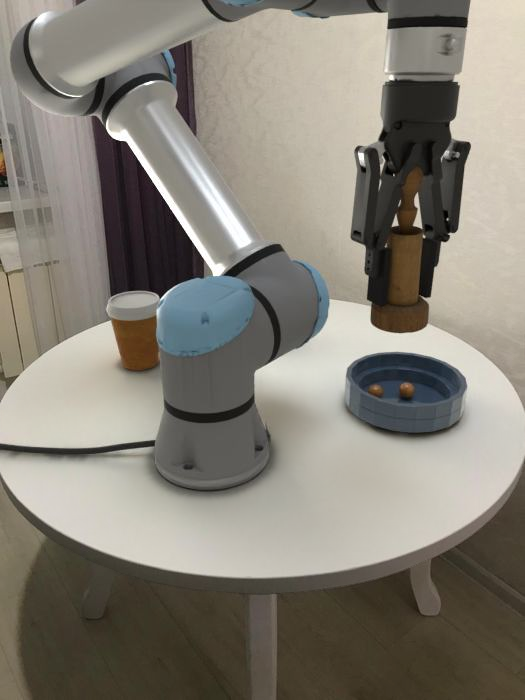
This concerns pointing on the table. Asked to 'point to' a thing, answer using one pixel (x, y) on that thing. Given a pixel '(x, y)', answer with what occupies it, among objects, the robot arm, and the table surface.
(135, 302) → the disposable coffee cup
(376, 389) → the bead
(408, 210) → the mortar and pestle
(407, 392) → the bead
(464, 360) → the table surface
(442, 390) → the bowl
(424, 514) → the table surface
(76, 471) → the table surface
